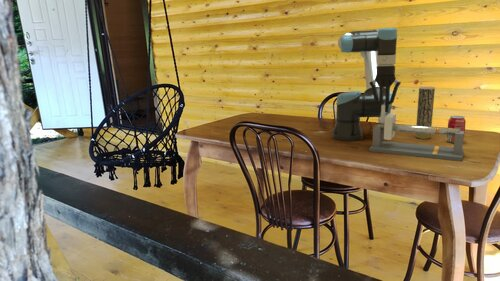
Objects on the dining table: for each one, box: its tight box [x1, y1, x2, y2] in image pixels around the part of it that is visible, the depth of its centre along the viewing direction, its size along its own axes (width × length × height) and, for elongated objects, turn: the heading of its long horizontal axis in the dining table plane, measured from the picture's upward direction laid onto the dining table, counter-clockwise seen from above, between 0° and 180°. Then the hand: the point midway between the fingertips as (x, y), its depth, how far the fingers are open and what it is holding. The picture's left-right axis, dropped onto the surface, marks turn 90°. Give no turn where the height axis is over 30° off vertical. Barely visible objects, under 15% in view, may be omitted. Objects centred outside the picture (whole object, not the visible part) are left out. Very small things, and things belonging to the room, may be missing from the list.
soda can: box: [446, 115, 466, 144], centre depth 168 cm, size 7×7×12 cm
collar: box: [383, 113, 397, 141], centre depth 160 cm, size 3×9×10 cm, turn 149°
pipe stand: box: [368, 124, 465, 162], centre depth 156 cm, size 36×14×10 cm, turn 59°
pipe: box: [377, 122, 460, 136], centre depth 155 cm, size 32×3×3 cm, turn 59°
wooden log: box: [415, 86, 436, 140], centre depth 176 cm, size 7×7×25 cm
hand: (383, 119), depth 161 cm, fingers closed
